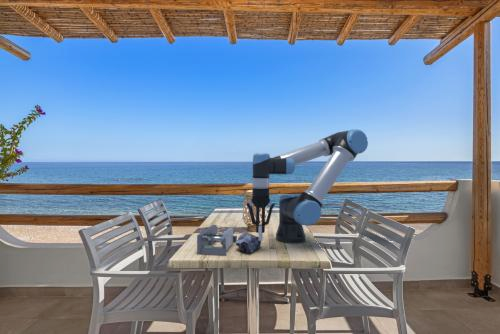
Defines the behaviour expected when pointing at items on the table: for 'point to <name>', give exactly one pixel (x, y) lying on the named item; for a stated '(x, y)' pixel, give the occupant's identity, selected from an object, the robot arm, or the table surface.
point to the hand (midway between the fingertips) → (260, 239)
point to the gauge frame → (210, 242)
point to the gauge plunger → (224, 238)
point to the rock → (248, 242)
